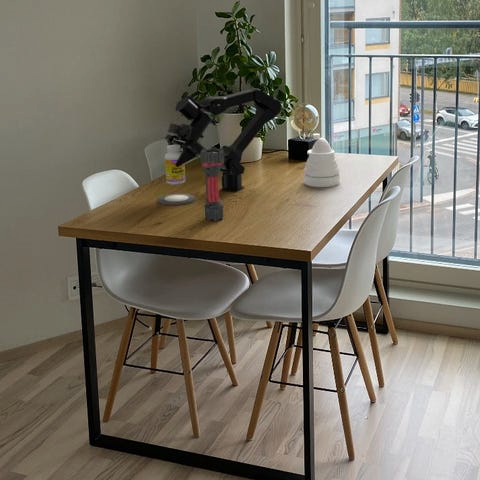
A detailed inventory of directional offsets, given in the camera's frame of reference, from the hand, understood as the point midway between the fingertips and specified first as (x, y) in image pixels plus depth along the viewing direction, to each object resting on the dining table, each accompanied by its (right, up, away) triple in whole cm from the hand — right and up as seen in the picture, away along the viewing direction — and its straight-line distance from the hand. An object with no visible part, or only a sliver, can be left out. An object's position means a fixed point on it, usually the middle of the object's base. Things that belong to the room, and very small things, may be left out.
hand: (171, 164), depth 304 cm
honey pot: (+54, -5, +22) cm, 58 cm away
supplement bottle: (+1, -6, +3) cm, 7 cm away
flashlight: (+16, -19, -19) cm, 32 cm away
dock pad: (+1, -12, +5) cm, 13 cm away
